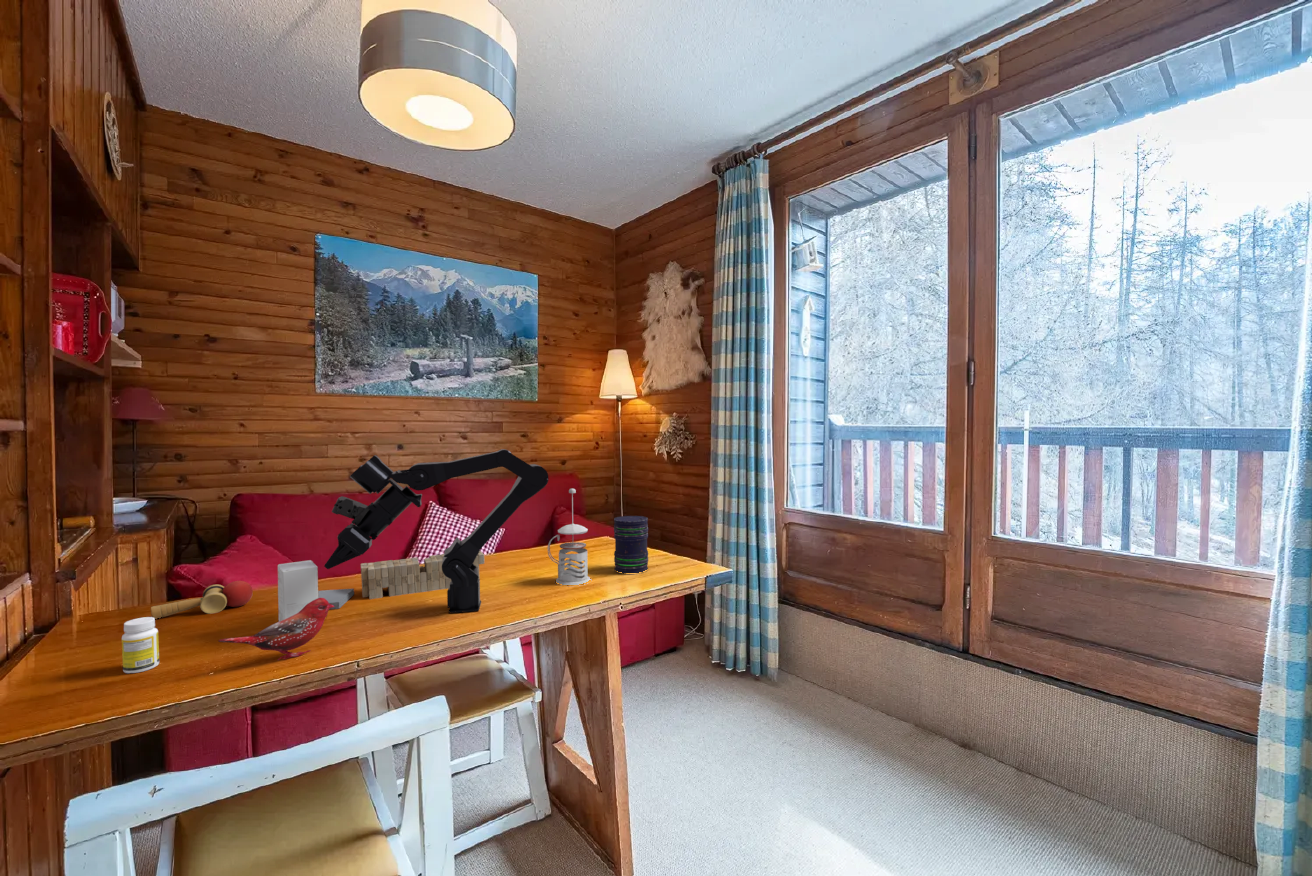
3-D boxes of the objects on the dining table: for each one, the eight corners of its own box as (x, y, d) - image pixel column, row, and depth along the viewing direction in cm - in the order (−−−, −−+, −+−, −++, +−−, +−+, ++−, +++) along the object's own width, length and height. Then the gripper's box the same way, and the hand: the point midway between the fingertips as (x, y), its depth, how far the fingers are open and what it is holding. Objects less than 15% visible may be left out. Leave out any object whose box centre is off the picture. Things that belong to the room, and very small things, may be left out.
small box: (319, 628, 117) (318, 566, 117) (283, 635, 113) (281, 571, 113) (312, 618, 123) (311, 559, 123) (278, 624, 119) (276, 564, 119)
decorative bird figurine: (337, 648, 106) (336, 596, 106) (220, 679, 94) (218, 620, 93) (333, 644, 108) (332, 593, 108) (217, 673, 96) (216, 616, 96)
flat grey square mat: (354, 594, 140) (353, 588, 140) (339, 608, 129) (339, 602, 129) (305, 597, 138) (305, 591, 138) (285, 612, 127) (285, 605, 127)
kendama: (152, 631, 120) (254, 603, 130) (146, 602, 120) (249, 576, 130) (157, 627, 126) (255, 600, 136) (152, 599, 126) (249, 575, 137)
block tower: (362, 604, 135) (486, 583, 149) (360, 570, 135) (484, 552, 149) (362, 595, 142) (480, 576, 156) (360, 563, 142) (479, 546, 156)
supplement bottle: (138, 662, 101) (136, 616, 100) (166, 661, 101) (165, 615, 101) (114, 674, 96) (113, 626, 96) (144, 673, 96) (142, 625, 96)
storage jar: (610, 573, 158) (609, 521, 157) (618, 565, 167) (618, 515, 167) (645, 575, 156) (644, 521, 156) (651, 566, 166) (650, 515, 165)
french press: (589, 585, 146) (588, 490, 145) (544, 586, 146) (543, 490, 145) (593, 575, 156) (592, 486, 155) (552, 575, 156) (551, 486, 155)
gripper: (364, 479, 130) (310, 529, 126) (349, 488, 112) (286, 546, 109) (402, 511, 133) (350, 561, 129) (393, 524, 115) (333, 583, 112)
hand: (330, 562), depth 120 cm, fingers open, 9 cm apart
